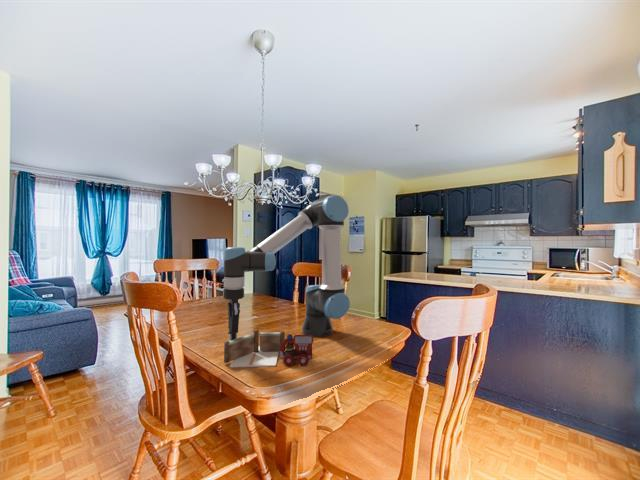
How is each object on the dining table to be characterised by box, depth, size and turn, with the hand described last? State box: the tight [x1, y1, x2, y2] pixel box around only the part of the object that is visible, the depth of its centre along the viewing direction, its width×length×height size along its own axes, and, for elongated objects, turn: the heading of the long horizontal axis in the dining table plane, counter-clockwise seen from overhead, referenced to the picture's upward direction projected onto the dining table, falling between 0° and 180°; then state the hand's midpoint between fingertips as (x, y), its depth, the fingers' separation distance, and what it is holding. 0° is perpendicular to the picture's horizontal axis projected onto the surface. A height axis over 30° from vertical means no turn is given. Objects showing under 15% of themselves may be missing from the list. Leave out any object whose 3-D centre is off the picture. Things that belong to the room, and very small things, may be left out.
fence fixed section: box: [253, 328, 286, 352], centre depth 115 cm, size 12×2×9 cm, turn 94°
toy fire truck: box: [278, 333, 314, 367], centre depth 105 cm, size 7×12×10 cm, turn 87°
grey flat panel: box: [223, 333, 254, 364], centre depth 108 cm, size 13×2×7 cm, turn 143°
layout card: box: [229, 345, 279, 368], centre depth 111 cm, size 16×19×1 cm
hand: (232, 349), depth 109 cm, fingers closed
